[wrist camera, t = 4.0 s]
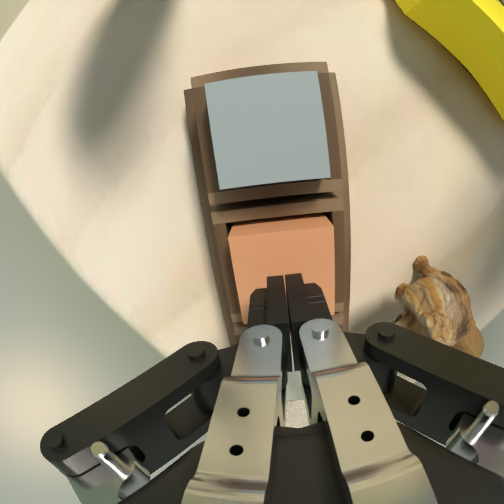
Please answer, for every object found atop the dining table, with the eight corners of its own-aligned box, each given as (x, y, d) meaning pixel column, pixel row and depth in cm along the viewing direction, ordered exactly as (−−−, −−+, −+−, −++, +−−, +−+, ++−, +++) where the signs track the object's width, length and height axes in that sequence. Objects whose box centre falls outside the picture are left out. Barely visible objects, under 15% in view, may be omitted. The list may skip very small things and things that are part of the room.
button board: (329, 78, 15) (349, 58, 10) (341, 347, 22) (352, 385, 18) (190, 94, 15) (167, 80, 11) (238, 358, 23) (233, 397, 19)
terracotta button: (321, 211, 15) (333, 226, 12) (325, 288, 16) (334, 314, 14) (234, 221, 15) (227, 237, 13) (246, 297, 17) (243, 324, 14)
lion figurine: (352, 283, 20) (395, 367, 11) (394, 226, 18) (466, 285, 10) (446, 344, 22) (485, 404, 14) (478, 304, 20) (527, 358, 12)
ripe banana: (396, -40, 9) (363, -2, 12) (427, -75, 3) (396, -45, 6) (528, 98, 12) (510, 149, 15) (573, 100, 6) (561, 161, 8)
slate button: (307, 84, 12) (316, 70, 10) (318, 171, 14) (330, 177, 11) (215, 94, 13) (204, 84, 10) (228, 181, 14) (219, 189, 12)
